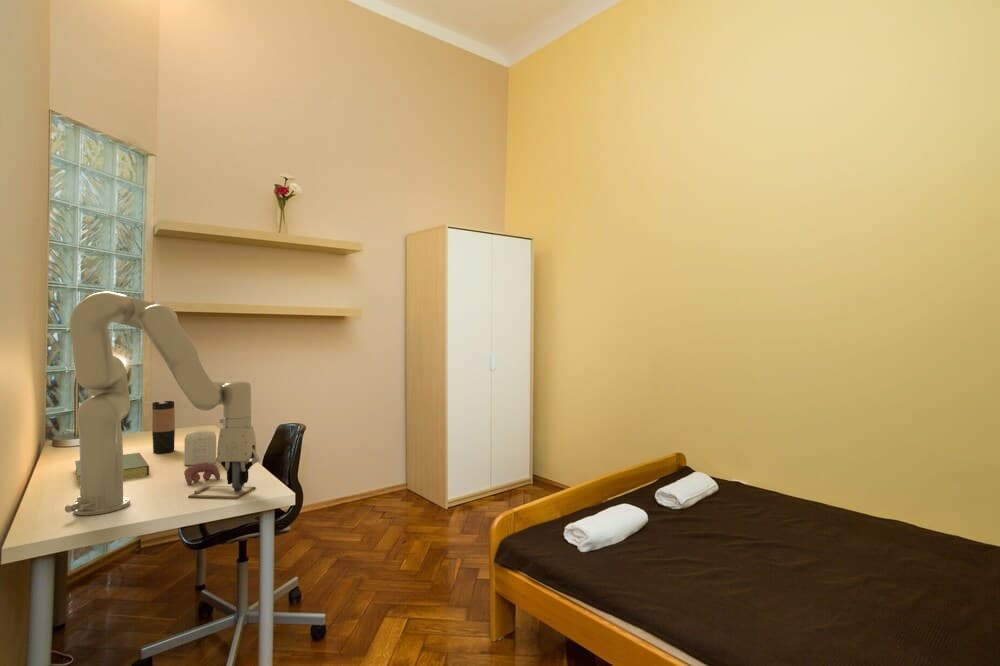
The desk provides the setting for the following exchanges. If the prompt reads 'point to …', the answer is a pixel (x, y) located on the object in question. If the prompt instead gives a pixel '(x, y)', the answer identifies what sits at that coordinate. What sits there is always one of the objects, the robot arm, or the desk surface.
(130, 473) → the hardcover book
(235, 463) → the marker
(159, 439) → the travel mug
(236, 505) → the desk surface
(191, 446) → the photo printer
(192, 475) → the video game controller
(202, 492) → the clipboard
